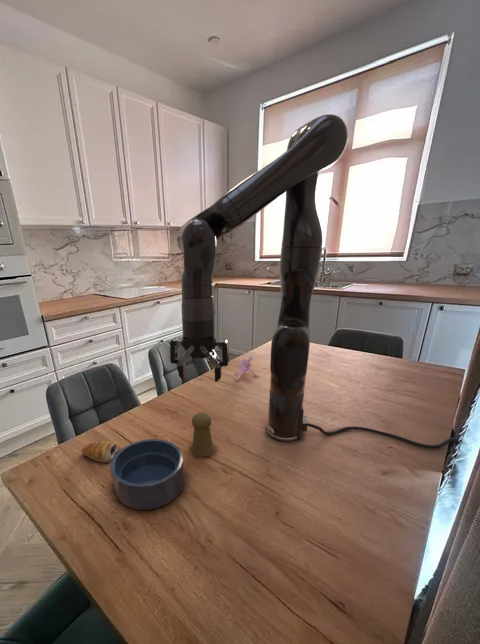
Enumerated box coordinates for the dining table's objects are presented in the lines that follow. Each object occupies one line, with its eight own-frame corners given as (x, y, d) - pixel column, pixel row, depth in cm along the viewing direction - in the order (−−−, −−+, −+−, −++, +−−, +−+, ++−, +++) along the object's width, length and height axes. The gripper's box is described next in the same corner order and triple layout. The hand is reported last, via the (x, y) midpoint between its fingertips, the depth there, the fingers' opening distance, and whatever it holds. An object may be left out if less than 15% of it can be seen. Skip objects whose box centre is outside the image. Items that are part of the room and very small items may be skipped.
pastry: (78, 460, 84) (75, 448, 83) (90, 445, 90) (88, 434, 89) (110, 464, 82) (108, 452, 81) (120, 448, 88) (119, 437, 87)
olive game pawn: (212, 457, 83) (211, 422, 79) (189, 455, 84) (187, 420, 80) (215, 444, 88) (214, 410, 84) (194, 442, 89) (192, 408, 85)
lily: (244, 371, 138) (234, 354, 134) (268, 365, 130) (258, 347, 127) (236, 389, 130) (225, 372, 126) (261, 384, 122) (250, 366, 118)
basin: (191, 465, 81) (190, 442, 78) (173, 516, 66) (171, 491, 63) (131, 457, 84) (128, 436, 82) (102, 505, 69) (97, 480, 67)
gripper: (163, 319, 70) (168, 384, 76) (226, 320, 67) (226, 388, 73) (173, 312, 77) (176, 372, 83) (230, 312, 74) (230, 375, 80)
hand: (200, 379), depth 78 cm, fingers open, 8 cm apart
